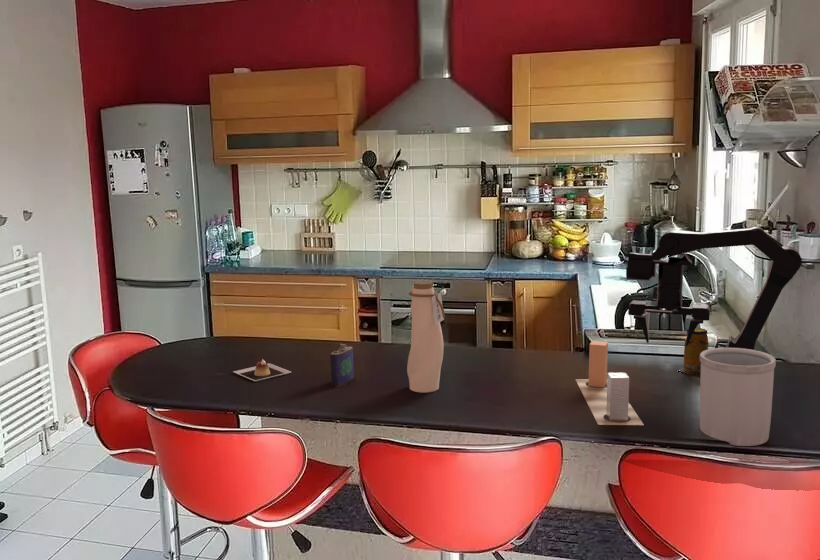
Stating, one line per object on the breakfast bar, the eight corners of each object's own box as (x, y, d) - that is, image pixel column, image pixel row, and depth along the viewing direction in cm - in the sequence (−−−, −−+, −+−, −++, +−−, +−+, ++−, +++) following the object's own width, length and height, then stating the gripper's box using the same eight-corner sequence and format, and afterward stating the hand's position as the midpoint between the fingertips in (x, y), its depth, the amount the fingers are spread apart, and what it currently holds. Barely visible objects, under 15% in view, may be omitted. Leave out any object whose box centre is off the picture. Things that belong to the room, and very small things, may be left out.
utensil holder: (683, 435, 161) (687, 356, 158) (713, 417, 171) (717, 343, 168) (753, 454, 150) (759, 370, 147) (781, 433, 161) (787, 355, 158)
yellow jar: (690, 366, 210) (692, 325, 208) (719, 373, 204) (721, 330, 202) (676, 371, 206) (678, 329, 204) (705, 378, 199) (707, 335, 197)
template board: (644, 428, 165) (644, 424, 165) (598, 428, 165) (598, 424, 165) (613, 382, 197) (613, 379, 197) (575, 382, 198) (575, 379, 198)
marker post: (606, 382, 194) (608, 341, 192) (604, 387, 190) (605, 345, 188) (591, 381, 196) (592, 340, 194) (588, 385, 192) (589, 344, 190)
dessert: (232, 375, 210) (231, 358, 209) (269, 366, 218) (268, 350, 217) (254, 384, 201) (253, 367, 200) (292, 375, 209) (291, 359, 208)
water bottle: (449, 384, 198) (449, 280, 193) (442, 394, 189) (441, 286, 184) (412, 381, 200) (411, 278, 195) (403, 391, 192) (401, 284, 187)
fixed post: (627, 420, 167) (629, 378, 165) (609, 420, 167) (611, 377, 166) (623, 414, 171) (625, 372, 169) (606, 414, 171) (607, 372, 170)
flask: (348, 377, 205) (346, 339, 203) (357, 378, 204) (356, 340, 202) (329, 386, 197) (327, 347, 195) (338, 388, 196) (337, 348, 194)
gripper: (711, 278, 186) (708, 339, 189) (634, 274, 193) (631, 333, 196) (711, 286, 176) (707, 350, 178) (629, 282, 183) (626, 343, 186)
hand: (667, 344), depth 185 cm, fingers open, 9 cm apart
